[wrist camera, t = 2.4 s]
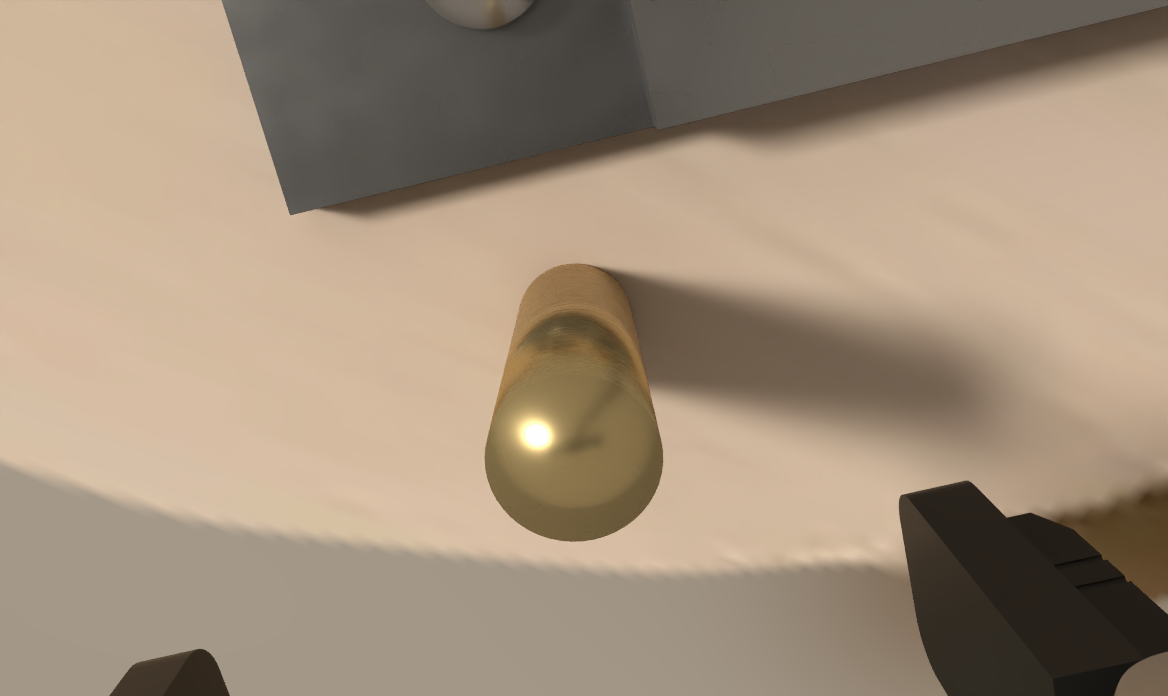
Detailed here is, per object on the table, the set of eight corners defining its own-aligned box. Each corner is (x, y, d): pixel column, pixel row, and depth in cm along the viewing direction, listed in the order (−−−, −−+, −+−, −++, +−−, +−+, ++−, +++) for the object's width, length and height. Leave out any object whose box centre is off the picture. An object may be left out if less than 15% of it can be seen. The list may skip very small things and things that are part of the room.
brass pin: (617, 251, 26) (641, 356, 16) (642, 359, 27) (679, 520, 17) (505, 278, 26) (464, 397, 16) (533, 384, 27) (510, 557, 17)
